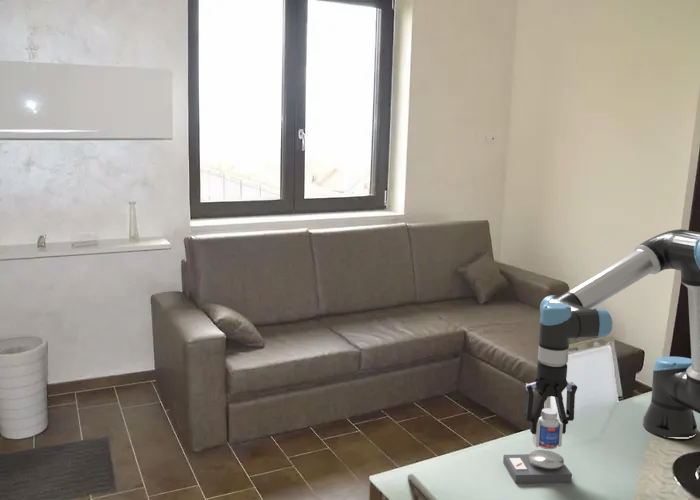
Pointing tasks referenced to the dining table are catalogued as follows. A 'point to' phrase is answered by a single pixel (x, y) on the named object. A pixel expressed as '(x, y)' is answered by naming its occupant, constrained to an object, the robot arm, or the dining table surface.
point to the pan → (546, 459)
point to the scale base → (534, 471)
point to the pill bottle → (548, 429)
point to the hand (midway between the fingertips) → (546, 444)
